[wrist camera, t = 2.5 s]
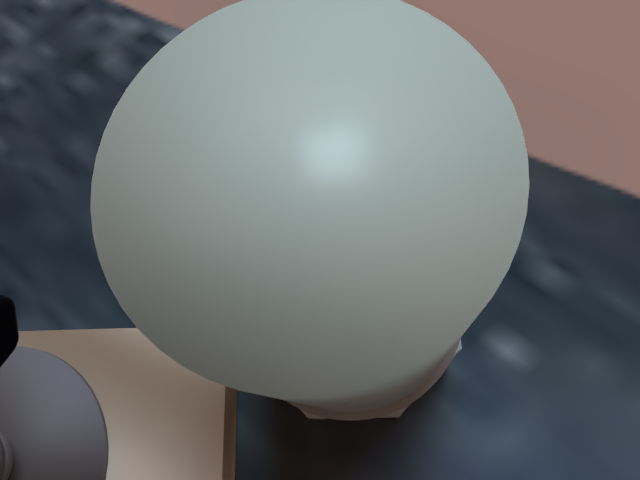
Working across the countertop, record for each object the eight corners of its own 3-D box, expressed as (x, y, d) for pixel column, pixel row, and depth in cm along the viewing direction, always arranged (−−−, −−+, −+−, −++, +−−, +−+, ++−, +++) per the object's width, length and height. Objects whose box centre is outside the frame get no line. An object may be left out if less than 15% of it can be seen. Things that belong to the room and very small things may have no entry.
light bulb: (454, 420, 19) (579, 414, 6) (270, 422, 19) (49, 420, 7) (441, 240, 20) (519, -45, 8) (272, 247, 21) (98, -7, 9)
